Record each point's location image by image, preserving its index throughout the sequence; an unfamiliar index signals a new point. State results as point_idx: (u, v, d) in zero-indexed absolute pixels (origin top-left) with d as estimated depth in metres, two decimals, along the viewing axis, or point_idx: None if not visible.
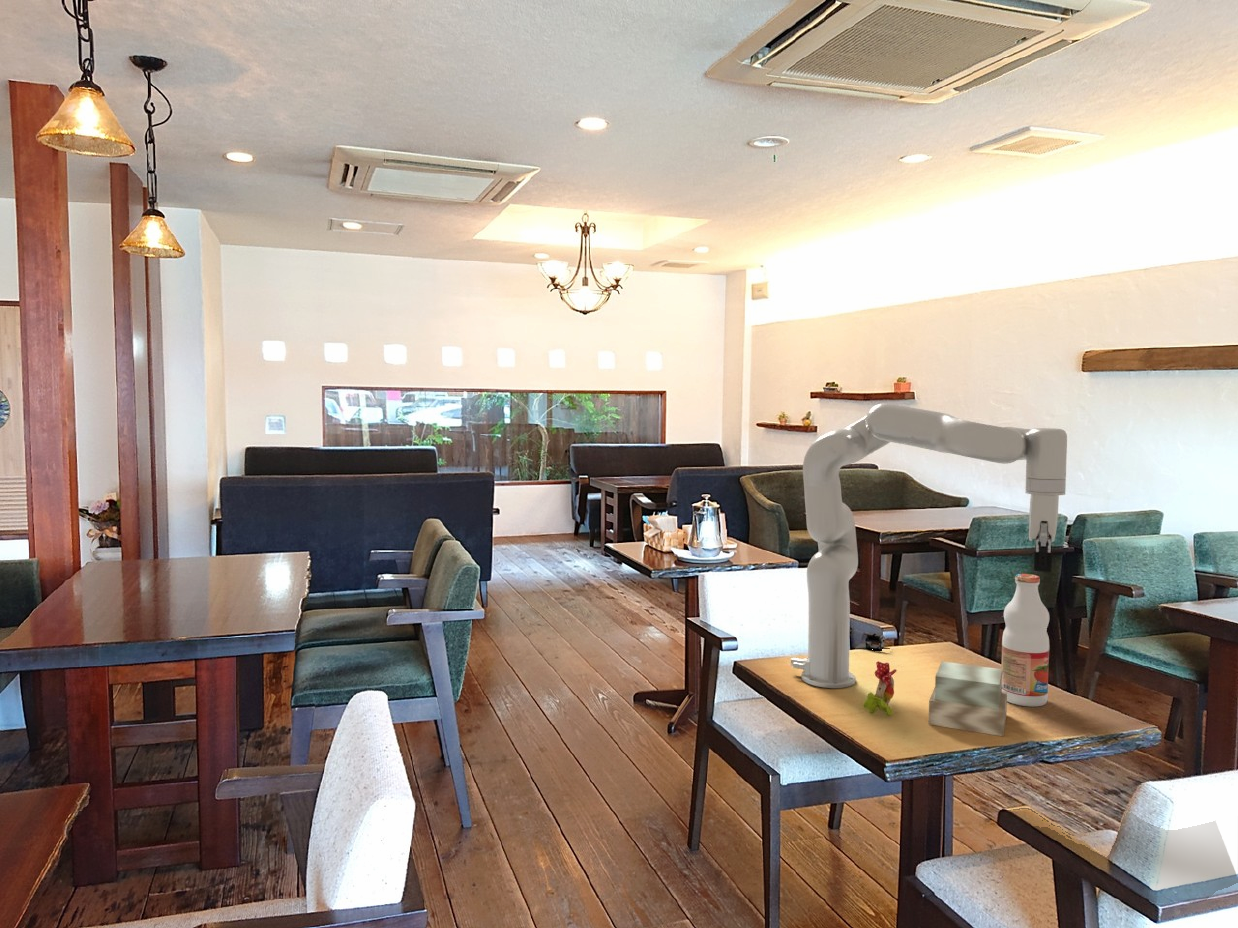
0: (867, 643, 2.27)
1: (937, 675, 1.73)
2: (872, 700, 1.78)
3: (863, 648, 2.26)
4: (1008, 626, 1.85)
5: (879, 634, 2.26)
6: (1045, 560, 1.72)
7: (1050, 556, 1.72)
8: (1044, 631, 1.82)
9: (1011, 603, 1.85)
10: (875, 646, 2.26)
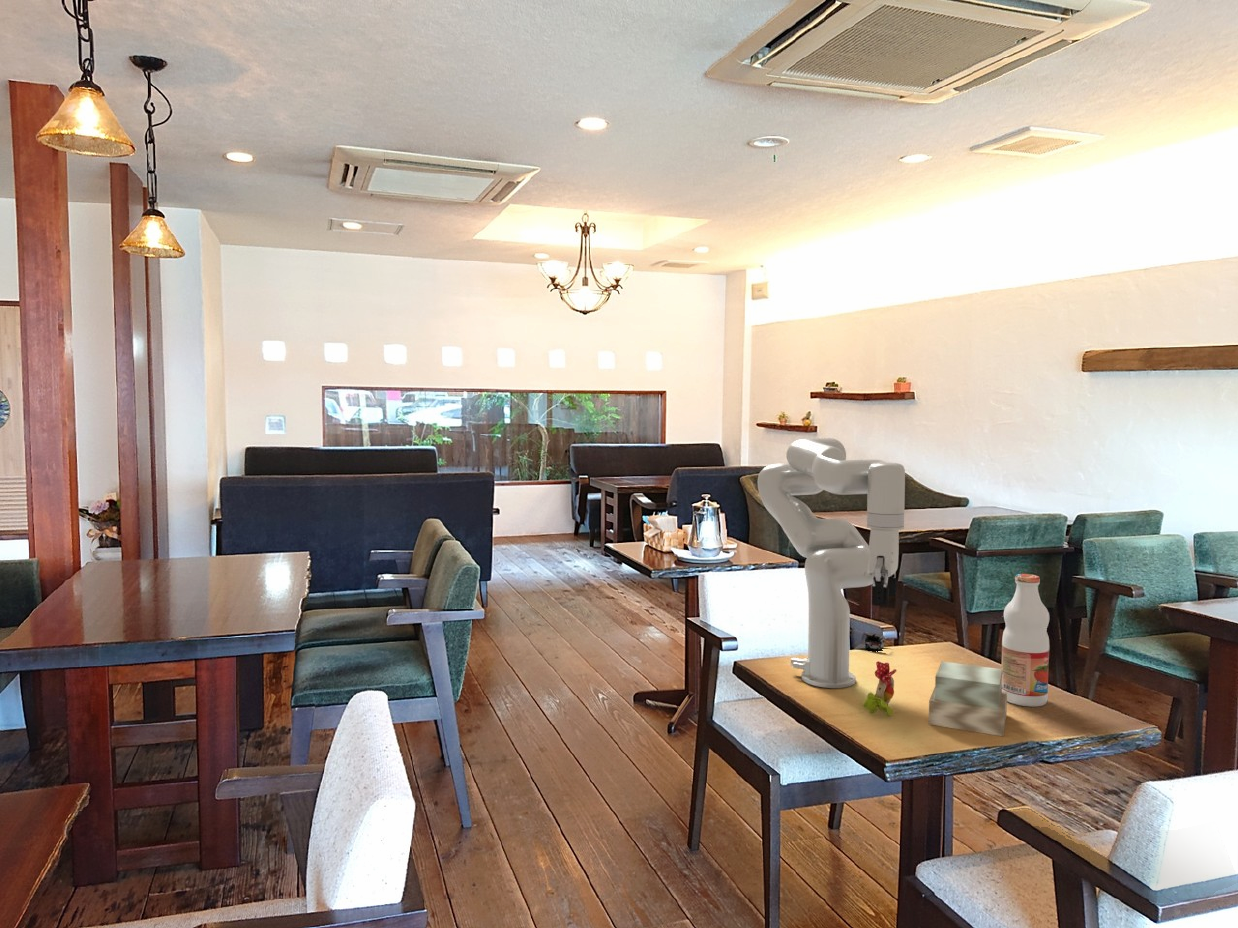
0: (867, 644, 2.26)
1: (937, 675, 1.73)
2: (872, 700, 1.78)
3: (863, 649, 2.26)
4: (1008, 626, 1.85)
5: (878, 635, 2.25)
6: (881, 595, 1.73)
7: (887, 590, 1.73)
8: (1044, 631, 1.82)
9: (1011, 603, 1.85)
10: (875, 647, 2.26)
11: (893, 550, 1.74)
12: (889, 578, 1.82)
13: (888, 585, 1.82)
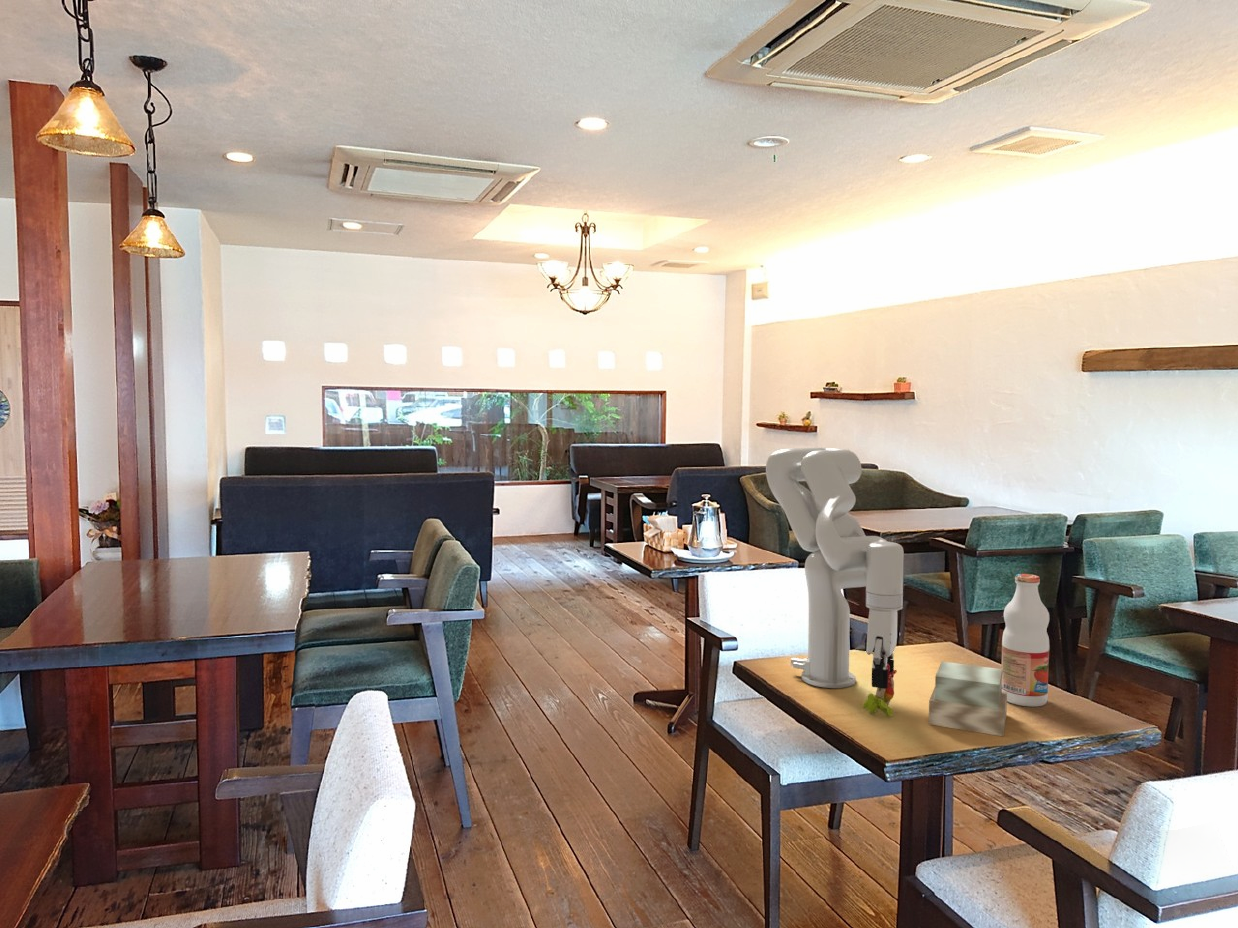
0: (866, 644, 2.26)
1: (937, 675, 1.73)
2: (872, 701, 1.78)
3: (862, 649, 2.25)
4: (1008, 626, 1.85)
5: None
6: (881, 677, 1.75)
7: (886, 673, 1.75)
8: (1044, 631, 1.82)
9: (1011, 603, 1.85)
10: None
11: (892, 631, 1.75)
12: (887, 659, 1.83)
13: None
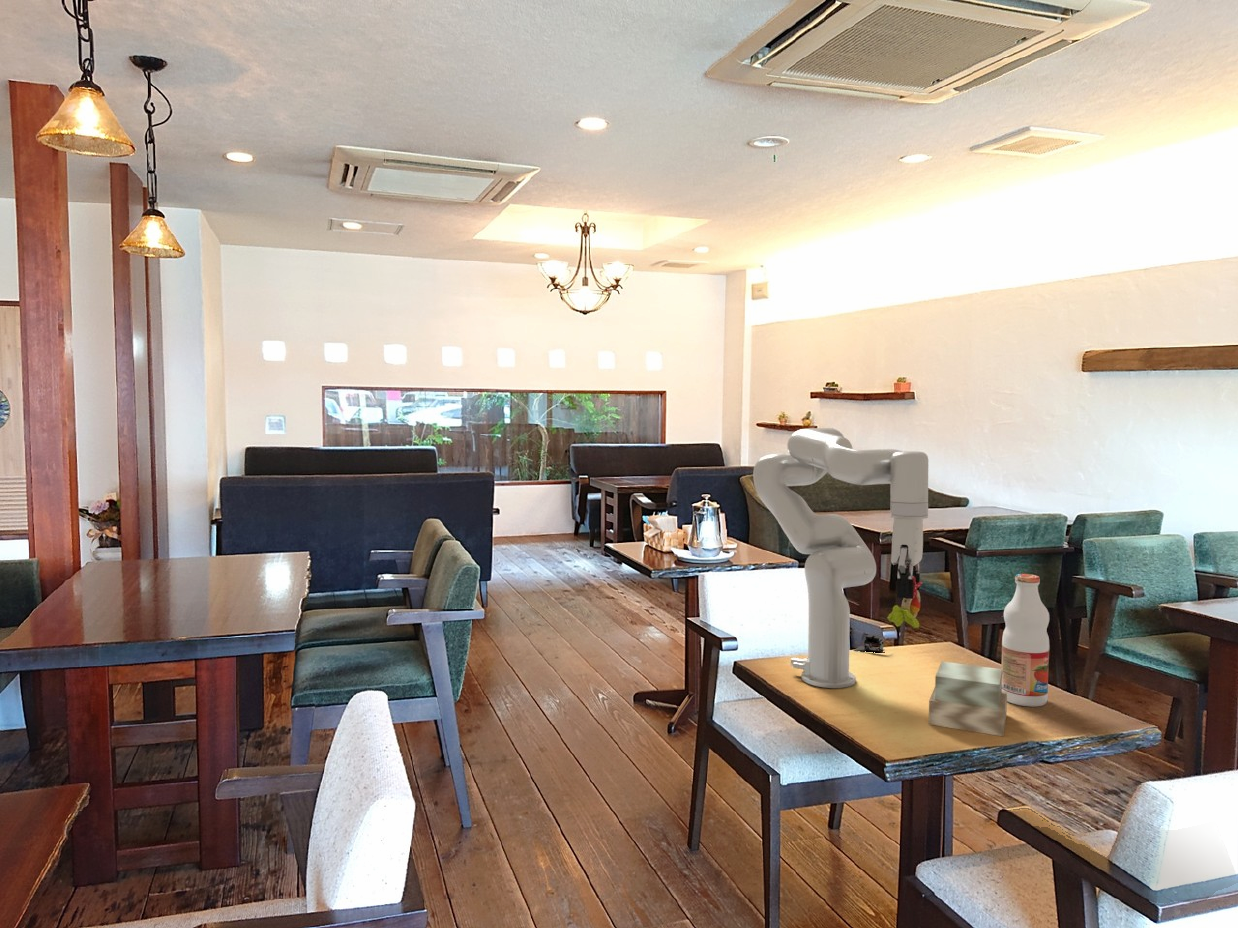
0: (866, 645, 2.25)
1: (937, 675, 1.73)
2: (898, 612, 1.75)
3: (862, 650, 2.24)
4: (1008, 626, 1.85)
5: (878, 636, 2.23)
6: (906, 587, 1.73)
7: (912, 583, 1.73)
8: (1044, 631, 1.82)
9: (1011, 603, 1.85)
10: (874, 648, 2.24)
11: (917, 539, 1.72)
12: (912, 573, 1.79)
13: None
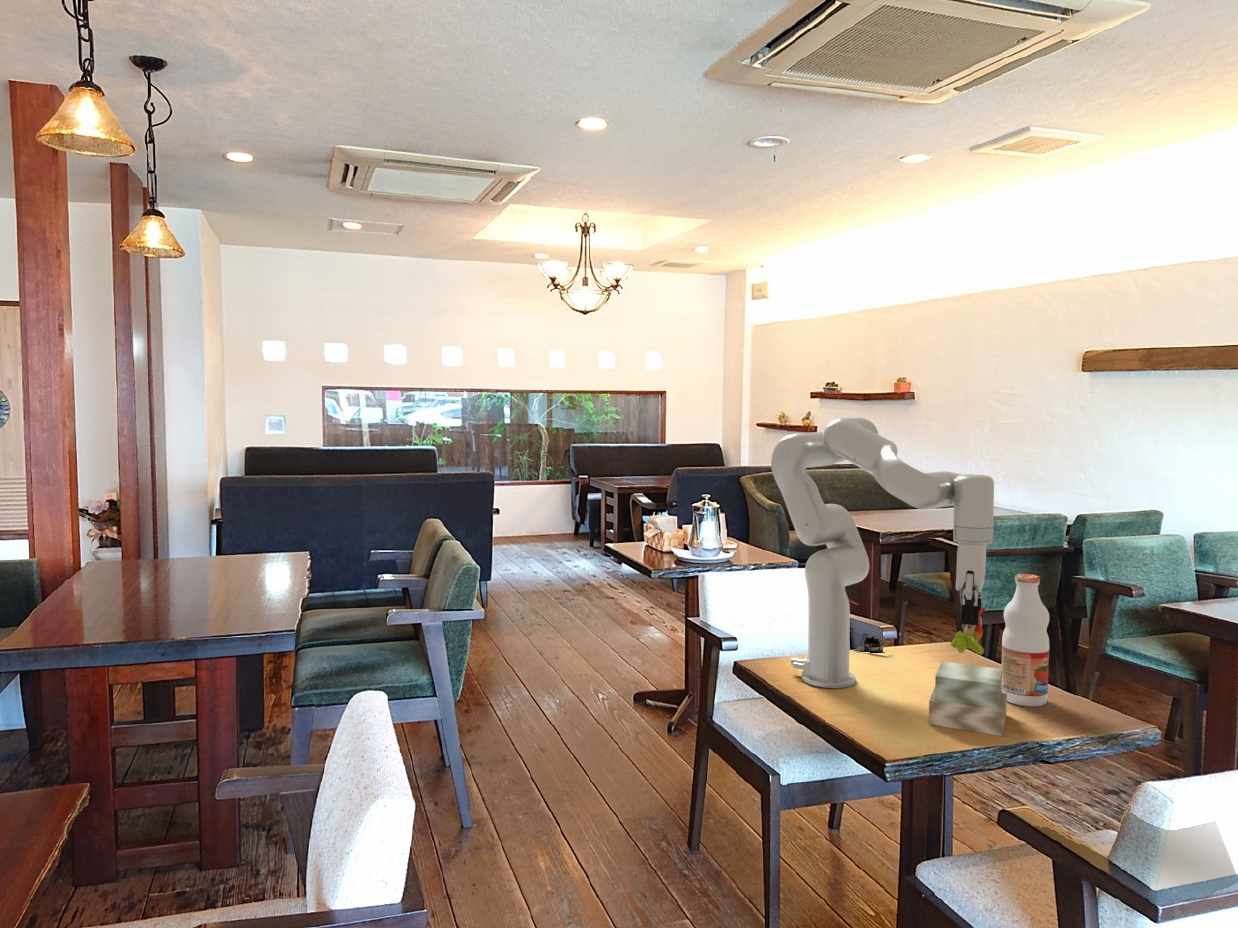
0: (866, 646, 2.24)
1: (937, 675, 1.73)
2: (961, 639, 1.72)
3: (862, 651, 2.24)
4: (1008, 626, 1.85)
5: (877, 637, 2.23)
6: (971, 613, 1.69)
7: (977, 609, 1.69)
8: (1044, 631, 1.82)
9: (1011, 603, 1.85)
10: (874, 649, 2.24)
11: (983, 565, 1.69)
12: None
13: None
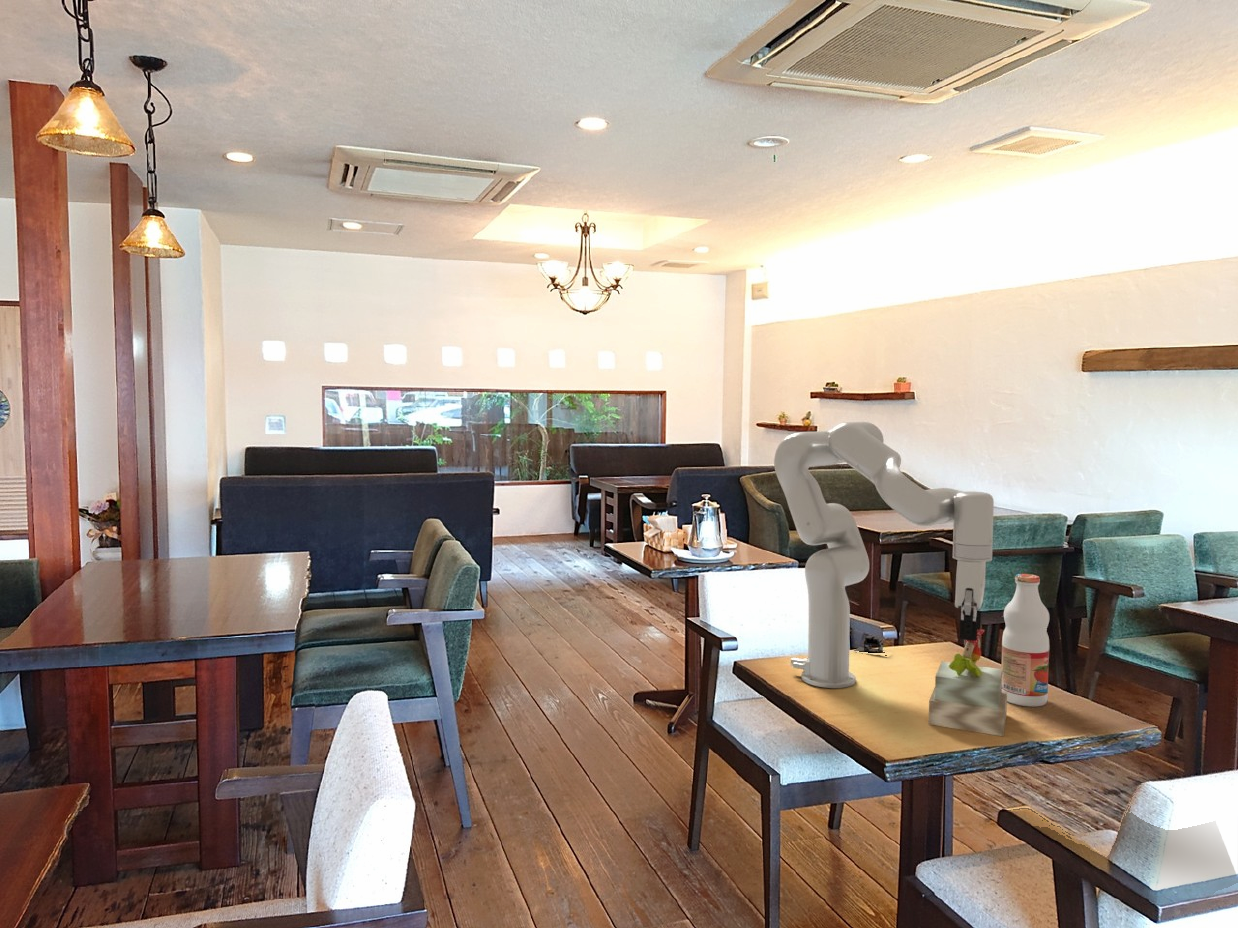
0: (865, 646, 2.24)
1: (937, 675, 1.73)
2: (960, 661, 1.72)
3: (861, 651, 2.23)
4: (1008, 626, 1.85)
5: (877, 638, 2.22)
6: (970, 629, 1.69)
7: (976, 624, 1.69)
8: (1044, 631, 1.82)
9: (1011, 603, 1.85)
10: (874, 649, 2.23)
11: (982, 582, 1.69)
12: None
13: None
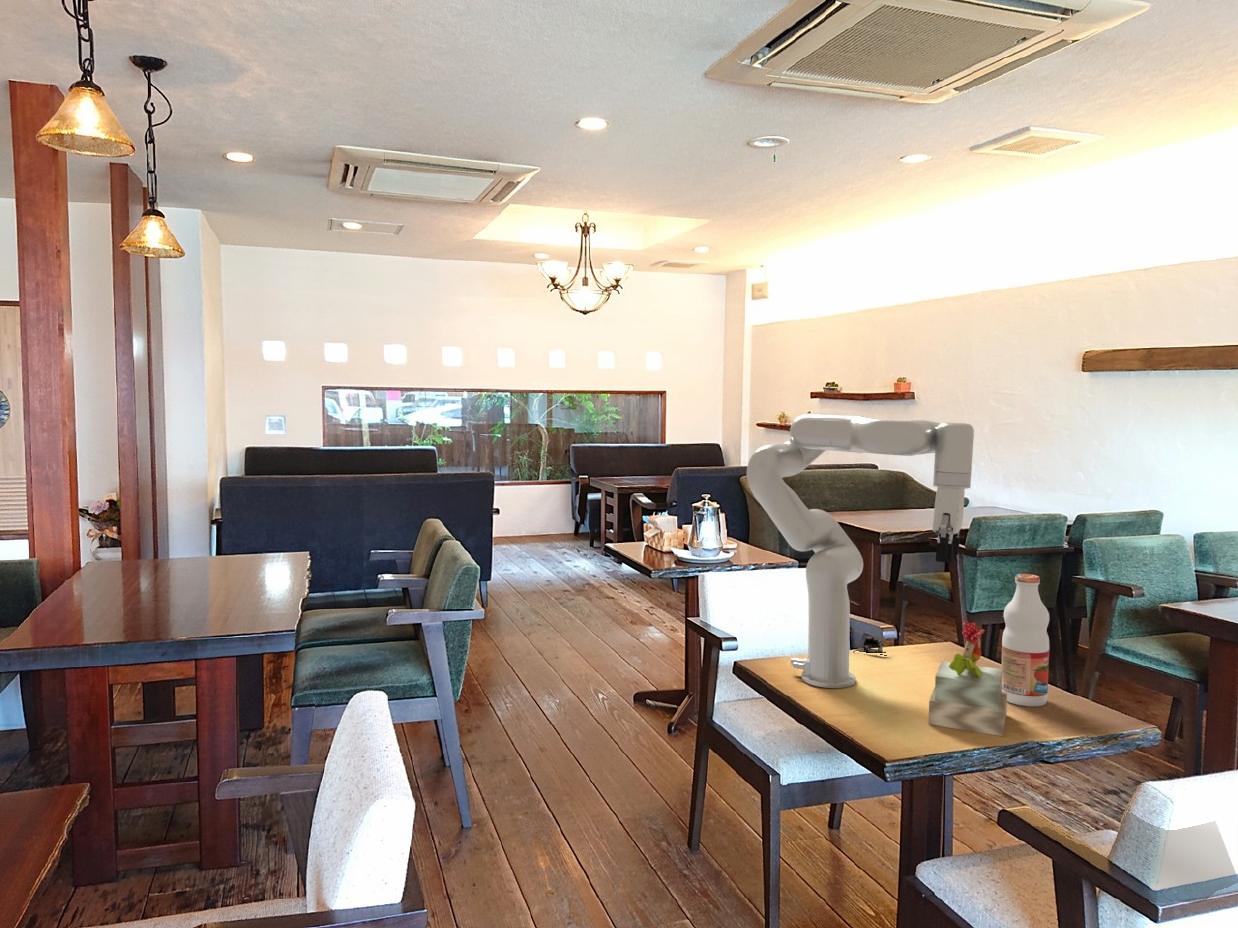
0: (865, 647, 2.23)
1: (937, 675, 1.73)
2: (960, 661, 1.72)
3: None
4: (1008, 626, 1.85)
5: (877, 638, 2.22)
6: (946, 551, 1.77)
7: (951, 547, 1.77)
8: (1044, 631, 1.82)
9: (1011, 603, 1.85)
10: (873, 650, 2.23)
11: (959, 508, 1.77)
12: (952, 537, 1.86)
13: (951, 544, 1.86)
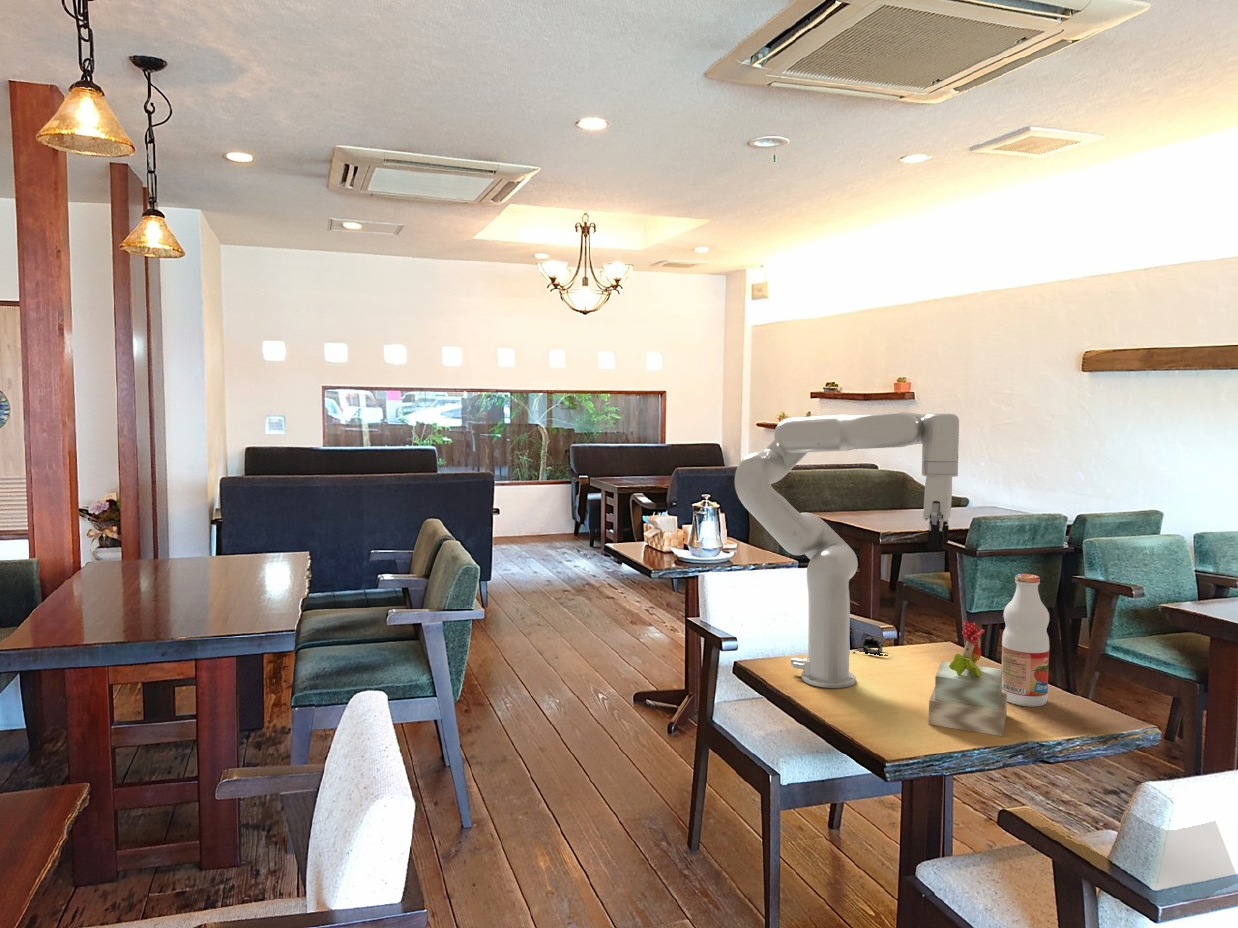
0: (865, 648, 2.23)
1: (937, 675, 1.73)
2: (960, 661, 1.72)
3: None
4: (1008, 626, 1.85)
5: (877, 639, 2.21)
6: (937, 538, 1.82)
7: (942, 534, 1.82)
8: (1044, 631, 1.82)
9: (1011, 603, 1.85)
10: (873, 651, 2.22)
11: (948, 496, 1.82)
12: None
13: None
